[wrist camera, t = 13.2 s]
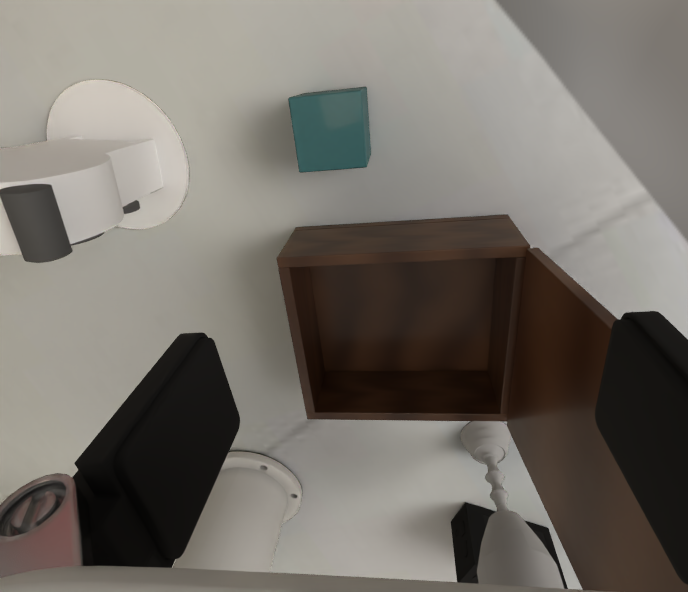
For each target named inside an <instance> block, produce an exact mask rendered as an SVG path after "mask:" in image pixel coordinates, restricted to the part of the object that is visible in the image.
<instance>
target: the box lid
mask: <svg viewBox="0 0 688 592" xmlns="http://www.w3.org/2000/svg"><path fill="white" fill-rule="evenodd" d="M615 320H618V319H617V318H616V317H615V316H613V315H612V314H611V313H610V312H609V311H608V310H607V309H606V308H605V307H603V306H602V305H601V304H600V303H599V302H598V301H597V300H596V299H595V298H593V297H592V296H591V295H590V294H589V293H588V292H587V291H586V290H584V289H583V288H582V287H581V286H580V285H579V284H578V283H577V282H576V281H574V280H573V279H572V278H571V277H570V276H569V275H568V274H567V273H566V272H564V271H563V270H562V269H561V268H560V267H559V266H558V265H557V264H555V263H554V262H553V261H552V260H551V259H550V258H549V257H548V256H547V255H545V254H544V253H543V252H542V251H541V250H540V249H539V248H530V249H527V254H526V263H525V272H524V280H523V289H522V298H521V307H520V315H519V324H518V333H517V342H516V350H515V359H514V368H513V377H512V385H511V394H510V403H509V412H508V420H507V427H508V430H509V432H510V434H511V436H512V438H513V440H514V442H515V445H516V447H517V449H518V451H519V453H520V455H521V457H522V460H523V462H524V464H525V466H526V468H527V470H528V473H529V475H530V477H531V479H532V481H533V483H534V485H535V488H536V490H537V492H538V494H539V496H540V498H541V500H542V503H543V505H544V507H545V509H546V511H547V513H548V516H549V518H550V520H551V522H552V524H553V526H554V528H555V531H556V533H557V535H558V537H559V539H560V541H561V543H562V546H563V548H564V550H565V552H566V554H567V556H568V559H569V561H570V563H571V565H572V567H573V569H574V571H575V574H576V576H577V578H578V580H579V582H580V584H581V586H582V589H583V590H593V591H609V592H688V585H687V584H685V583H683V582H682V580H681V579H680V578H679V577H678V575H677V573H676V572H675V570H674V568H673V566H672V564H671V562H670V561H669V559H668V557H667V555H666V553H665V551H664V550H663V548H662V546H661V544H660V542H659V540H658V538H657V537H656V535H655V533H654V531H653V529H652V527H651V525H650V524H649V522H648V520H647V518H646V516H645V514H644V513H643V511H642V509H641V507H640V505H639V503H638V501H637V500H636V498H635V496H634V494H633V492H632V490H631V488H630V487H629V485H628V483H627V481H626V479H625V477H624V476H623V474H622V472H621V470H620V468H619V466H618V464H617V463H616V461H615V459H614V457H613V455H612V453H611V451H610V450H609V448H608V446H607V444H606V442H605V440H604V439H603V437H602V435H601V433H600V431H599V429H598V427H597V424H596V421H595V408H596V403H597V398H598V394H599V389H600V384H601V379H602V374H603V369H604V364H605V359H606V354H607V350H608V345H609V340H610V335H611V330H612V326H613V323H614V321H615Z"/></svg>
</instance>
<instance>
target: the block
mask: <svg viewBox="0 0 688 592" xmlns="http://www.w3.org/2000/svg"><path fill="white" fill-rule="evenodd" d="M288 100H289V107H290V113H291V120H292V127H293V133H294V140H295V147H296V154H297V160H298V167H299V172H313V171H326V170H339V169H351V168H364V167H367V164H368V161H369V158H370V155H371V146H370V131H369V116H368V101H367V88H366V87H359V88H350V89H341V90H331V91H322V92H313V93H304V94H300V95H297V96H293V97H290V98H289V99H288Z"/></svg>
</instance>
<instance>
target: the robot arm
mask: <svg viewBox="0 0 688 592" xmlns="http://www.w3.org/2000/svg"><path fill="white" fill-rule="evenodd" d="M595 421H596V424H597V427H598V429H599V431H600V433H601V435H602V437H603V439H604V440H605V442H606V444H607V446H608V448H609V450H610V451H611V453H612V455H613V457H614V459H615V461H616V463H617V464H618V466H619V468H620V470H621V472H622V474H623V476H624V477H625V479H626V481H627V483H628V485H629V487H630V488H631V490H632V492H633V494H634V496H635V498H636V500H637V501H638V503H639V505H640V507H641V509H642V511H643V513H644V514H645V516H646V518H647V520H648V522H649V524H650V525H651V527H652V529H653V531H654V533H655V535H656V537H657V538H658V540H659V542H660V544H661V546H662V548H663V550H664V551H665V553H666V555H667V557H668V559H669V561H670V562H671V564H672V566H673V568H674V570H675V572H676V573H677V575H678V577H679V578H680V579H681V580H682V582H683V583H685V584H687V585H688V339H687V338H685V337H684V336H683V335H682V334H681V333H680V332H679V331H678V330H677V329H676V328H675V327H674V326H673V325H672V324H671V323H670V322H669V321H668V320H667V319H666V318H665V317H664V316H663V315H662V314H660V313H659V312H656V311H650V312H629V313H625V314H624V315H623V316H622V318H621V320H615V321H614V323H613V326H612V330H611V335H610V340H609V345H608V350H607V354H606V359H605V364H604V369H603V374H602V379H601V384H600V389H599V394H598V398H597V403H596V408H595ZM239 425H240V417H239V413H238V410H237V407H236V404H235V401H234V398H233V395H232V392H231V390H230V387H229V384H228V381H227V378H226V375H225V372H224V369H223V366H222V363H221V360H220V357H219V354H218V351H217V348H216V345H215V342H214V340H213V339H212V338H208V337H207V335H206V334H205V333H185V334H180V335H179V336H178V337H177V338H176V339H175V340H174V342H173V343H172V344H171V345H170V347H169V348H168V349H167V350H166V352H165V353H164V354H163V355H162V356H161V358H160V359H159V360H158V361H157V363H156V364H155V365H154V366H153V367H152V369H151V370H150V371H149V372H148V374H147V375H146V376H145V377H144V379H143V380H142V381H141V382H140V383H139V385H138V386H137V387H136V388H135V390H134V391H133V392H132V393H131V394H130V396H129V397H128V398H127V399H126V401H125V402H124V403H123V404H122V406H121V407H120V408H119V409H118V410H117V412H116V413H115V414H114V415H113V417H112V418H111V419H110V420H109V421H108V423H107V424H106V425H105V426H104V428H103V429H102V430H101V431H100V432H99V434H98V435H97V436H96V437H95V439H94V440H93V441H92V442H91V444H90V445H89V446H88V447H87V448H86V450H85V451H84V452H83V453H82V455H81V456H80V457H79V458H78V459H77V461H76V462H75V465H76V466H77V468H78V469H79V470H78V471H77V473H76V474H75V475H74V476H73V478H72V477H70V476H69V475H67V474H59V473H57V474H51V475H46V476H43V477H41V478H38V479H35V480H33V481H31V482H29V483H28V484H26V485H24V486H22V487H21V488H19V489H18V490H17V491H15V492H14V493H13V494H11V495H10V496H9V497H7V498H6V499H5V500H4V501H3V503H2V504H1V505H0V592H609V591H593V590H576V589H559V588H542V587H526V586H509V585H492V584H475V583H457V582H439V581H421V580H403V579H385V578H366V577H347V576H329V575H310V574H290V573H270V570H271V566H272V562H273V558H274V554H275V550H276V547H277V543H278V539H279V535H280V531H281V527H282V523H284V522H286V521H288V520H289V519H291V518H292V517H293V516H295V515H296V513H297V512H298V510H299V508H300V505H301V501H302V489H301V486H300V484H299V481H298V480H297V478H296V477H295V476H294V474H293V473H292V472H291V471H290V470H288V469H287V468H286V467H285V466H283V465H282V464H281V463H279V462H277V461H275V460H273V459H271V458H269V457H266V456H263V455H261V454H256V453H252V452H242V451H238V452H229V450H230V448H231V445H232V443H233V441H234V439H235V436H236V434H237V432H238V429H239ZM175 559H176V561H175ZM174 561H175V563H174ZM173 563H174V565H173ZM172 566H173V568H172Z"/></svg>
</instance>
